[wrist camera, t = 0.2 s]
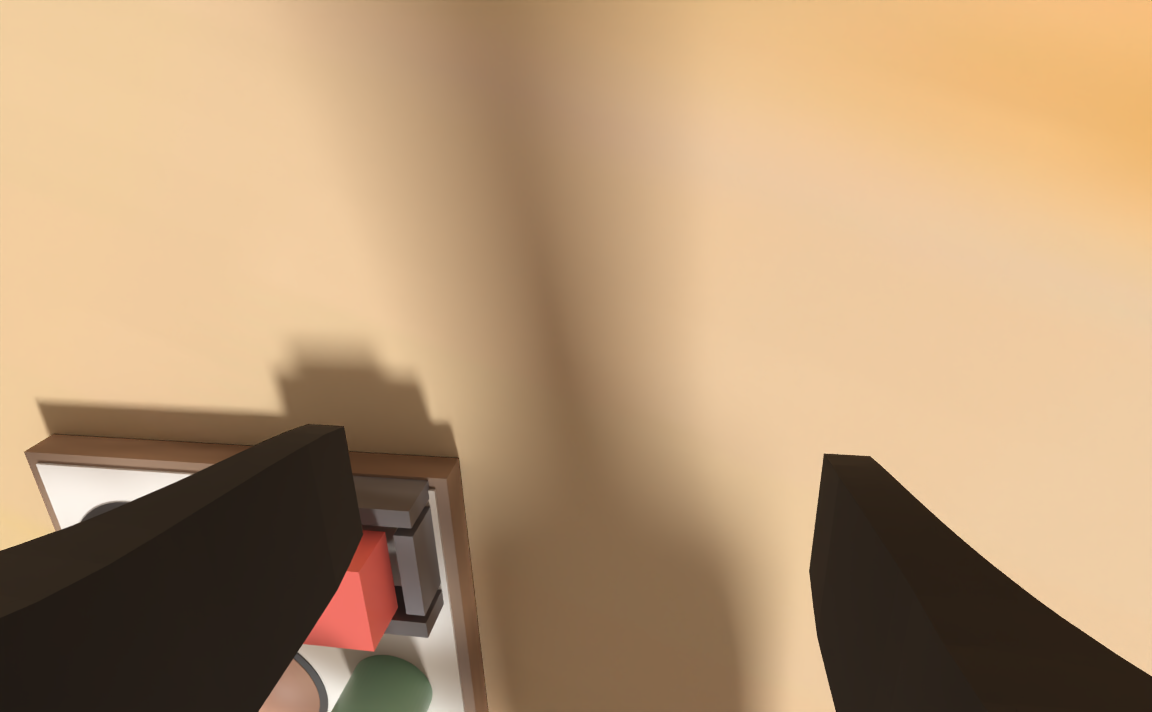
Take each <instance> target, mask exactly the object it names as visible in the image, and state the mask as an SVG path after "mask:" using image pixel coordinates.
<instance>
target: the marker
mask: <svg viewBox="0 0 1152 712" xmlns="http://www.w3.org/2000/svg"><path fill="white" fill-rule="evenodd" d="M432 695H433V693H432V687H431V685H430V682H429V680H428V679H427V677H426V676H425V675H424V674H423V673H422V671H421V670H419V669H418V668H417V667H416V666H414V665H413V664H411V663H410V662H408V661H406V660H403V659H401V658H398V657H394V656H390V655H374V656H370V657H367V658H365V659H363V660H362V661H361V662H360V663H358V665H357V666H356V668H355V670H354V671H353V673H352V675H351V677H350V679H349V680H348V682H347V684H346V686H345V688H344V689H343V691H342V693H341V695H340V697H339V698H338V700H337V702H336V704H335V706H334V707H333V709H332V711H331V712H427V711H428V708H429V706H430V703H431V701H432Z"/></svg>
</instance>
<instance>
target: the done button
mask: <svg viewBox="0 0 1152 712" xmlns="http://www.w3.org/2000/svg"><path fill="white" fill-rule="evenodd" d="M397 608H398V604H397V598H396V592H395V586H394V580H393V575H392V569H391V563H390V557H389V551H388V546H387V540H386V534H385V532H382V531H369V530H363V536H362V538H361V541H360V543H359V545H358V547H357V550H356V552H355V554H354V556H353V559H352V561H351V563H350V565H349V567H348V569H347V571H346V573H345V576H344V578H343V580H342V582H341V584H340V586H339V588H338V590H337V591H336V593H335V595H334V596H333V598H332V599H331V601H330V603H329V604H328V606H327V607H326V609H325V611H324V612H323V614H322V615H321V617H320V618H319V620H318V621H317V623H316V625H315V626H314V628H313V629H312V631H311V632H310V634H309V635H308V637H307V639H306V640H305V642H304V643H303V644H307V645H317V646H326V647H335V648H345V649H354V650H364V651H373V652H374V651H375V649H376V647H377V646H378V644H379V642H380V640H381V638H382V636H383V634H384V633H385V631H386V629H387V627H388V625H389V623H390V621H391V620H392V618H393V616H394V614H395V612H396V610H397Z"/></svg>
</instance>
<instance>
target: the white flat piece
mask: <svg viewBox="0 0 1152 712" xmlns="http://www.w3.org/2000/svg"><path fill="white" fill-rule="evenodd" d="M250 447H253V446H243V445H226V444H209V443H192V442H175V441H158V440H141V439H125V438H108V437H91V436H74V435H57V434H53V435H51V436H50V437H48V438H46V439H45V440H43V441H41V442H40V443H38V444H36V445H35V446H33V447H31V448H30V449H28V450H26V451H25V452H24V453H25V455H26V458H27V460H28V463H29V465H30V468H31V470H32V473H33V475H34V478H35V480H36V483H37V485H38V488H39V490H40V493H41V495H42V498H43V501H44V503H45V506H46V508H47V511H48V513H49V516H50V518H51V521H52V523H53V526H54V528H55V531H59V530H62V529H64V528H67V527H69V526H72V525H75V524H77V523H80V522H83V521H85V520H88V519H90V518H93V517H95V516H98V515H100V514H103V513H105V512H107V511H110V510H112V509H114V508H117V507H119V506H121V505H124V504H126V503H128V502H131V501H133V500H135V499H138V498H140V497H142V496H145V495H147V494H149V493H151V492H154V491H156V490H158V489H161V488H163V487H165V486H168V485H170V484H172V483H175V482H177V481H179V480H181V479H183V478H186V477H188V476H190V475H192V474H194V473H196V472H199V471H201V470H203V469H205V468H207V467H209V466H211V465H214V464H216V463H218V462H220V461H222V460H224V459H227V458H229V457H231V456H233V455H235V454H237V453H240V452H242V451H244V450H246V449H248V448H250ZM349 457H350V463H351V468H352V474H353V480H354V485H355V491H356V496H357V502H358V507H359V513H360V519H361V524H362V530H369V531H382V532H385V534H386V540H387V546H388V551H389V557H390V563H391V569H392V575H393V580H394V586H395V592H396V598H397V604H398V608H397V610H396V612H395V614H394V616H393V618H392V620H391V621H390V623H389V625H388V627H387V629H386V631H385V633H384V634H383V636H382V638H381V640H380V642H379V644H378V646H377V647H376V649H375V651H374V652H373V651H364V650H354V649H345V648H335V647H326V646H317V645H307V644H303V645H302V646H301V648H300V649H299V651H298V652H297V654H296V655H295V657H294V658H293V660H292V661H291V663H290V664H289V666H288V667H287V669H286V670H285V672H284V674H283V675H282V677H281V678H280V680H279V681H278V683H277V684H276V686H275V687H274V689H273V690H272V692H271V693H270V695H269V696H268V698H267V699H266V701H265V702H264V704H263V706H262V707H261V709H260V710H259V712H331V711H332V709H333V707H334V706H335V704H336V702H337V700H338V698H339V697H340V695H341V693H342V691H343V689H344V688H345V686H346V684H347V682H348V680H349V679H350V677H351V675H352V673H353V671H354V670H355V668H356V666H357V665H358V663H360V662H361V661H362V660H363V659H365V658H367V657H370V656H374V655H390V656H394V657H398V658H401V659H403V660H406V661H408V662H410V663H411V664H413V665H414V666H416V667H417V668H418V669H419V670H421V671H422V673H423V674H424V675H425V676H426V677H427V679H428V680H429V682H430V685H431V687H432V693H433V695H432V701H431V703H430V706H429V708H428V711H427V712H488V707H487V698H486V689H485V681H484V672H483V664H482V655H481V646H480V638H479V629H478V621H477V612H476V603H475V595H474V586H473V578H472V569H471V560H470V552H469V543H468V535H467V526H466V517H465V509H464V500H463V492H462V483H461V474H460V466H459V458H447V457H430V456H413V455H396V454H379V453H362V452H349Z"/></svg>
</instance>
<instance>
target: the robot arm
mask: <svg viewBox="0 0 1152 712" xmlns="http://www.w3.org/2000/svg"><path fill="white" fill-rule="evenodd" d="M362 536H363V530H362V524H361V519H360V513H359V507H358V502H357V496H356V491H355V485H354V480H353V474H352V468H351V463H350V457H349V452H348V446H347V441H346V435H345V430H344V426H329V425H311V424H307V425H304V426H301V427H298V428H295V429H293V430H290V431H287V432H285V433H282V434H280V435H277V436H275V437H273V438H271V439H268V440H266V441H264V442H261V443H259V444H257V445H255V446H253V447H250V448H248V449H246V450H244V451H242V452H240V453H237V454H235V455H233V456H231V457H229V458H227V459H224V460H222V461H220V462H218V463H216V464H214V465H211V466H209V467H207V468H205V469H203V470H201V471H199V472H196V473H194V474H192V475H190V476H188V477H186V478H183V479H181V480H179V481H177V482H175V483H172V484H170V485H168V486H165V487H163V488H161V489H158V490H156V491H154V492H151V493H149V494H147V495H145V496H142V497H140V498H138V499H135V500H133V501H131V502H128V503H126V504H124V505H121V506H119V507H117V508H114V509H112V510H110V511H107V512H105V513H103V514H100V515H98V516H95V517H93V518H90V519H88V520H85V521H83V522H80V523H77V524H75V525H72V526H69V527H67V528H64V529H62V530H59V531H56V532H53V533H50V534H47V535H45V536H42V537H39V538H36V539H33V540H31V541H28V542H25V543H22V544H19V545H16V546H14V547H10V548H7V549H4V550H1V551H0V712H259V710H260V709H261V707H262V706H263V704H264V702H265V701H266V699H267V698H268V696H269V695H270V693H271V692H272V690H273V689H274V687H275V686H276V684H277V683H278V681H279V680H280V678H281V677H282V675H283V674H284V672H285V670H286V669H287V667H288V666H289V664H290V663H291V661H292V660H293V658H294V657H295V655H296V654H297V652H298V651H299V649H300V648H301V646H302V645H303V643H304V642H305V640H306V639H307V637H308V635H309V634H310V632H311V631H312V629H313V628H314V626H315V625H316V623H317V621H318V620H319V618H320V617H321V615H322V614H323V612H324V611H325V609H326V607H327V606H328V604H329V603H330V601H331V599H332V598H333V596H334V595H335V593H336V591H337V590H338V588H339V586H340V584H341V582H342V580H343V578H344V576H345V573H346V571H347V569H348V567H349V565H350V563H351V561H352V559H353V556H354V554H355V552H356V550H357V547H358V545H359V543H360V541H361V538H362ZM809 573H810V581H811V590H812V599H813V608H814V615H815V623H816V631H817V637H818V641H819V646H820V650H821V654H822V658H823V662H824V666H825V670H826V674H827V678H828V682H829V686H830V690H831V694H832V698H833V702H834V706H835V710H836V712H1152V676H1150V675H1149V674H1147V673H1145V672H1144V671H1142V670H1141V669H1139V668H1137V667H1136V666H1134V665H1133V664H1131V663H1129V662H1128V661H1126V660H1125V659H1123V658H1121V657H1120V656H1118V655H1117V654H1115V653H1114V652H1112V651H1111V650H1109V649H1108V648H1106V647H1105V646H1103V645H1102V644H1101V643H1099V642H1098V641H1096V640H1095V639H1093V638H1092V637H1090V636H1089V635H1087V634H1086V633H1084V632H1083V631H1081V630H1080V629H1078V628H1077V627H1075V626H1074V625H1072V624H1071V623H1069V622H1068V621H1066V620H1065V619H1063V618H1062V617H1061V616H1059V615H1058V614H1056V613H1055V612H1054V611H1052V610H1051V609H1049V608H1048V607H1047V606H1045V605H1044V604H1043V603H1041V602H1040V601H1038V600H1037V599H1036V598H1034V597H1033V596H1032V595H1030V594H1029V593H1028V592H1027V591H1025V590H1024V589H1023V588H1022V587H1020V586H1019V585H1018V584H1016V583H1015V582H1014V581H1013V580H1011V579H1010V578H1009V577H1007V576H1006V575H1005V574H1004V573H1002V572H1001V571H1000V570H998V569H997V568H996V567H995V566H993V565H992V564H991V563H990V562H988V561H987V560H986V559H985V558H984V557H982V556H981V555H980V554H979V553H978V552H976V551H975V550H974V549H973V548H971V547H970V546H969V545H968V544H967V543H966V542H964V541H963V540H962V539H961V538H960V537H959V536H957V535H956V534H955V533H954V532H953V531H952V530H951V529H949V528H948V527H947V526H946V525H945V524H944V523H943V522H941V521H940V520H939V519H938V518H937V517H936V516H935V515H934V514H933V513H931V512H930V511H929V510H928V509H927V508H926V507H925V506H924V505H923V504H922V503H921V502H919V501H918V500H917V499H916V498H915V497H914V496H913V495H912V494H911V493H910V492H909V491H908V490H906V489H905V488H904V487H903V486H902V485H901V484H900V483H899V482H898V481H897V480H896V479H895V478H894V477H893V476H892V475H890V474H889V473H888V472H887V471H886V470H885V469H884V468H883V467H882V466H881V465H880V464H878V463H877V462H876V461H875V460H874V459H873V458H871V457H870V456H856V455H838V454H824V458H823V466H822V474H821V482H820V490H819V498H818V506H817V514H816V522H815V530H814V538H813V546H812V553H811V561H810V569H809Z"/></svg>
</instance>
